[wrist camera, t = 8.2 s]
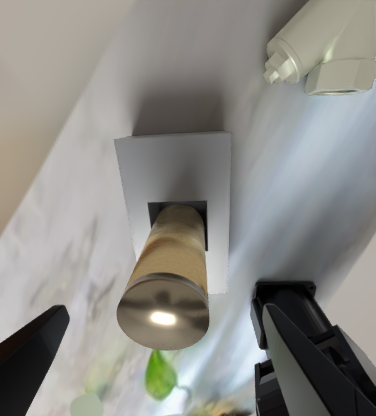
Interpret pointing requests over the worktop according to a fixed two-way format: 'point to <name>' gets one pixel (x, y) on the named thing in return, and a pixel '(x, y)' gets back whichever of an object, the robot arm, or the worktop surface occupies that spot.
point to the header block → (180, 188)
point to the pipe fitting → (326, 48)
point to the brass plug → (168, 284)
